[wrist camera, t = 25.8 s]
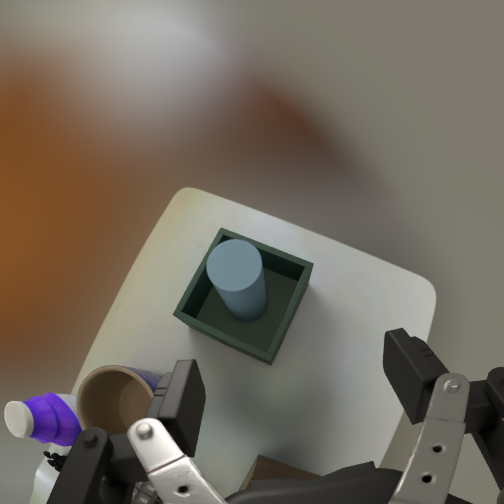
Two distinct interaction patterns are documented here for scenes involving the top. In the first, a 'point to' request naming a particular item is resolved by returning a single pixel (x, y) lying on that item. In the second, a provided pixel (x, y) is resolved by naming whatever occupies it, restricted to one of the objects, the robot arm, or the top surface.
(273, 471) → the stand
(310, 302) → the top surface
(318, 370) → the top surface
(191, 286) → the bin
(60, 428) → the bottle
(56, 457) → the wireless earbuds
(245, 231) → the top surface
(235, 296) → the cylinder
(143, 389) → the planter
